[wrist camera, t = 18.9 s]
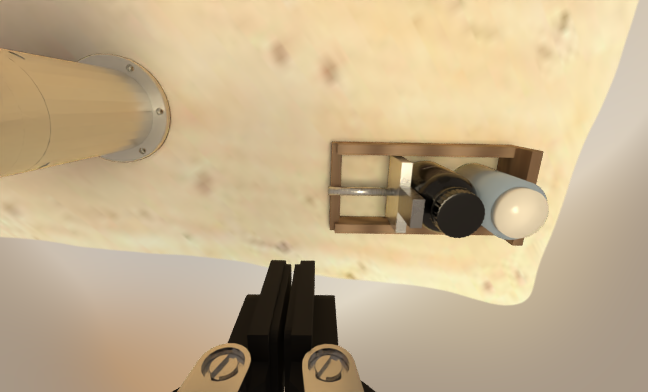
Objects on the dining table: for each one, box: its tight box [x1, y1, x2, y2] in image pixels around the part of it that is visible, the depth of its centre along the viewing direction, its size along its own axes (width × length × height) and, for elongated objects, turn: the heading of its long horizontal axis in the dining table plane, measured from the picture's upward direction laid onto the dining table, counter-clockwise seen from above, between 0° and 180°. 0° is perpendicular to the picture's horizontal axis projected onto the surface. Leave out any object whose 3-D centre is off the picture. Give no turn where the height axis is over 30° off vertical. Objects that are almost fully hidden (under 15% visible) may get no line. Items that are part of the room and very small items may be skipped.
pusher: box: [328, 155, 425, 233], centre depth 35 cm, size 9×8×11 cm
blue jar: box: [454, 163, 549, 240], centre depth 35 cm, size 6×6×11 cm
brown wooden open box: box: [330, 142, 543, 246], centre depth 38 cm, size 23×11×6 cm, turn 89°
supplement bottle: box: [410, 161, 485, 238], centre depth 35 cm, size 7×7×12 cm
